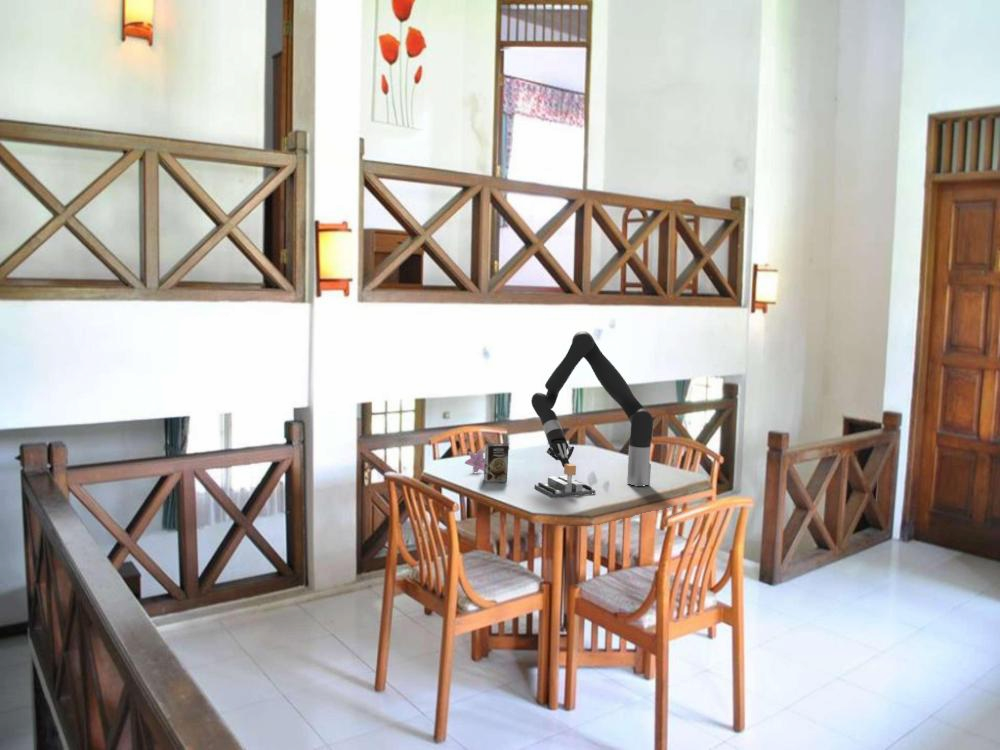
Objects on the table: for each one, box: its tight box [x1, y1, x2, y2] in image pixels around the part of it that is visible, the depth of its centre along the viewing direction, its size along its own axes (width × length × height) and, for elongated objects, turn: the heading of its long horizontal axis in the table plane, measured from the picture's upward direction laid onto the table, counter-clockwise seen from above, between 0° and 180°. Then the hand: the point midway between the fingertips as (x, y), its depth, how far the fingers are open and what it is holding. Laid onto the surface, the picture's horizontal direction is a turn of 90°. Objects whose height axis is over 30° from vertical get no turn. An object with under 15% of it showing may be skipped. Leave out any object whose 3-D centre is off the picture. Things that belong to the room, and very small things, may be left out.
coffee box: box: [483, 442, 509, 484], centre depth 357 cm, size 9×6×16 cm
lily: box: [464, 448, 485, 473], centre depth 374 cm, size 12×12×10 cm
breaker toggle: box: [563, 463, 577, 485], centre depth 341 cm, size 3×4×10 cm
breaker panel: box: [533, 475, 596, 498], centre depth 344 cm, size 20×16×4 cm
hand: (567, 467), depth 342 cm, fingers closed
